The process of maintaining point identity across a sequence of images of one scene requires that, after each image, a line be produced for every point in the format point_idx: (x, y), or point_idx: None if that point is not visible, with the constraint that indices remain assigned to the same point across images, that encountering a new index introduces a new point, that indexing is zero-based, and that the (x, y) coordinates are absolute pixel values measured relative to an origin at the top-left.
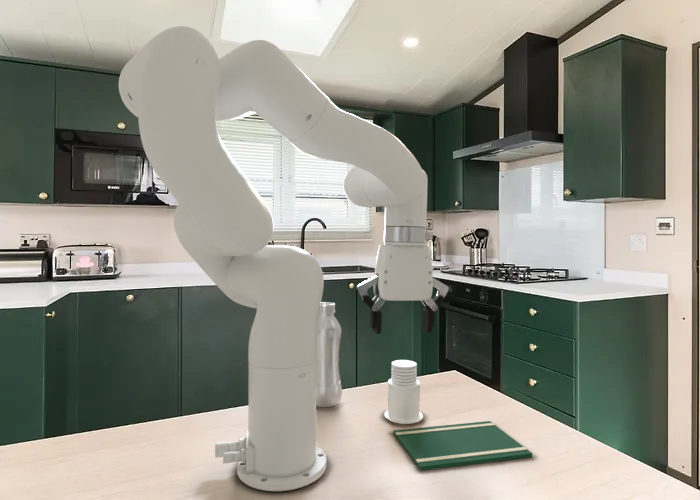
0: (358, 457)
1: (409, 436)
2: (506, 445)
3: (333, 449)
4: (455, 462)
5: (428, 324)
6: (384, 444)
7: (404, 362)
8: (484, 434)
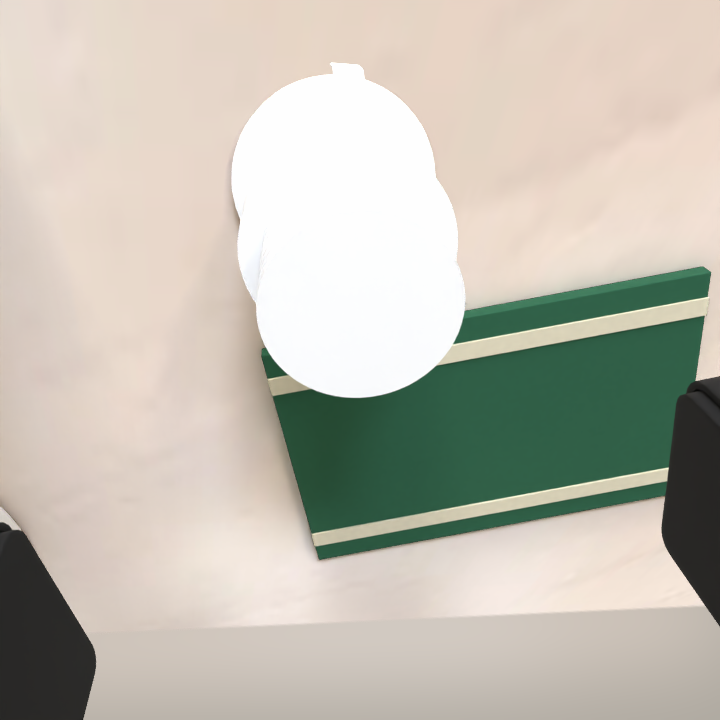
0: (129, 497)
1: (320, 404)
2: (635, 454)
3: (30, 456)
4: (426, 539)
5: (714, 617)
6: (220, 422)
7: (370, 289)
8: (611, 386)
